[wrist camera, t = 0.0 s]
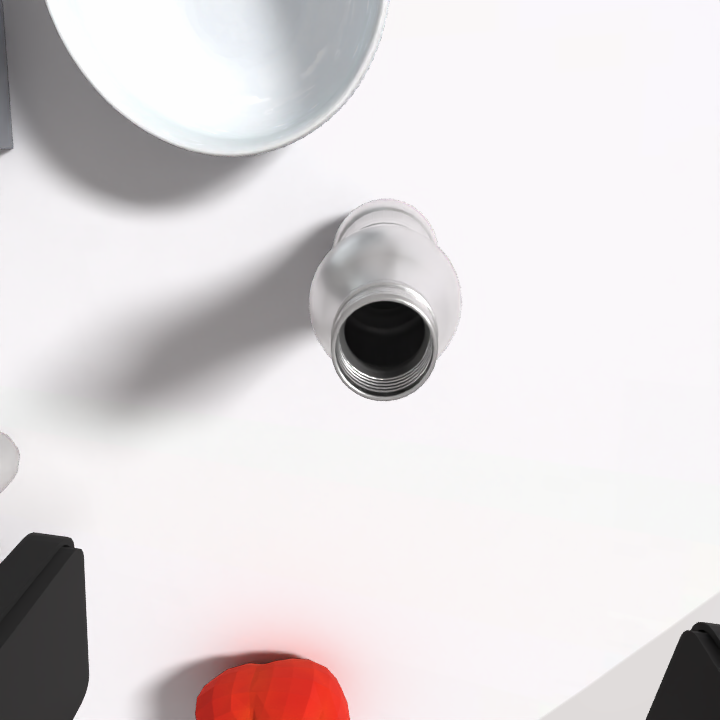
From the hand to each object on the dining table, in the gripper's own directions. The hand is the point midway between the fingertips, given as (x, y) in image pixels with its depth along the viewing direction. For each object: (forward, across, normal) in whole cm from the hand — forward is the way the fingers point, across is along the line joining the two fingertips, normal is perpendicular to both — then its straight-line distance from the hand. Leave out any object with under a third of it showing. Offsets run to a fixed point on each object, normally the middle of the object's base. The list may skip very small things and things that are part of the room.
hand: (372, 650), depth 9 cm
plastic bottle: (+31, 0, -1) cm, 31 cm away
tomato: (+32, +3, +38) cm, 49 cm away
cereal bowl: (+32, +10, -14) cm, 36 cm away
